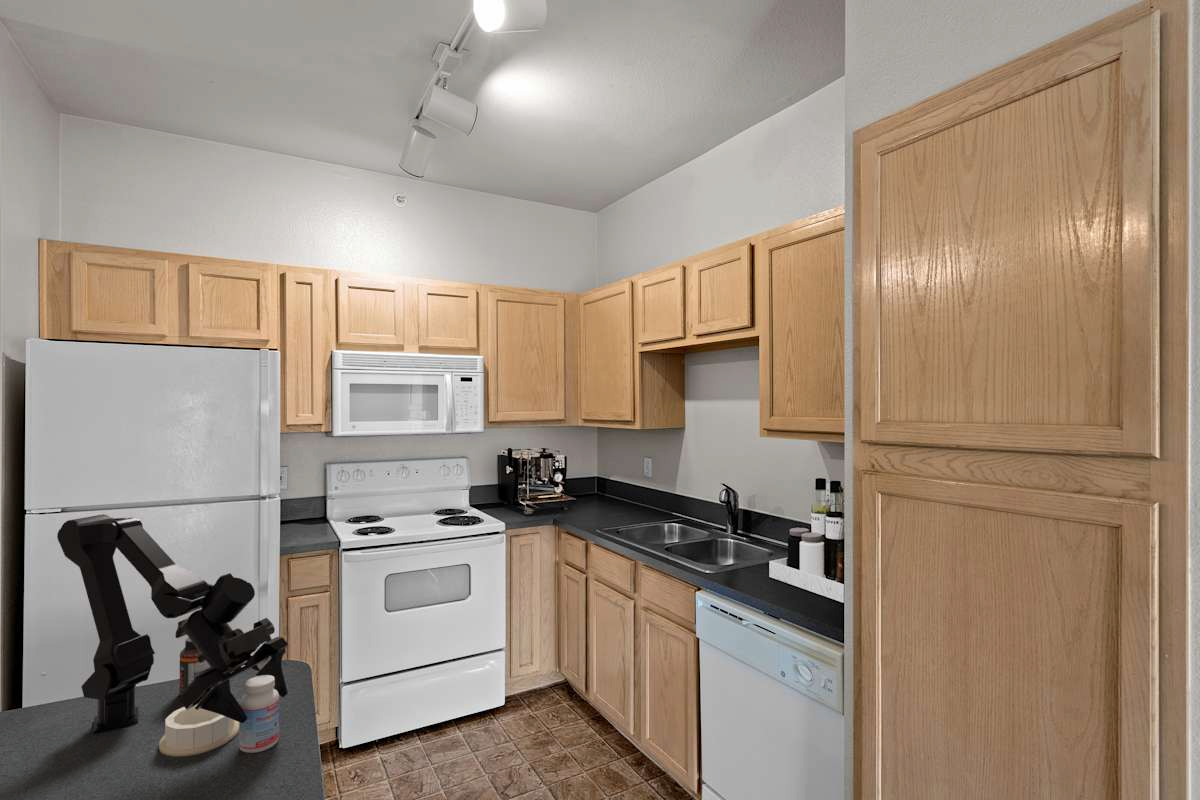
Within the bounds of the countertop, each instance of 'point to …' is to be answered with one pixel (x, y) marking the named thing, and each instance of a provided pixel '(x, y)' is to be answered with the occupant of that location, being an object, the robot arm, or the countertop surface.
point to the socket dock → (196, 732)
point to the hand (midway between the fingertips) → (266, 707)
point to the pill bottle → (259, 715)
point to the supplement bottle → (190, 665)
